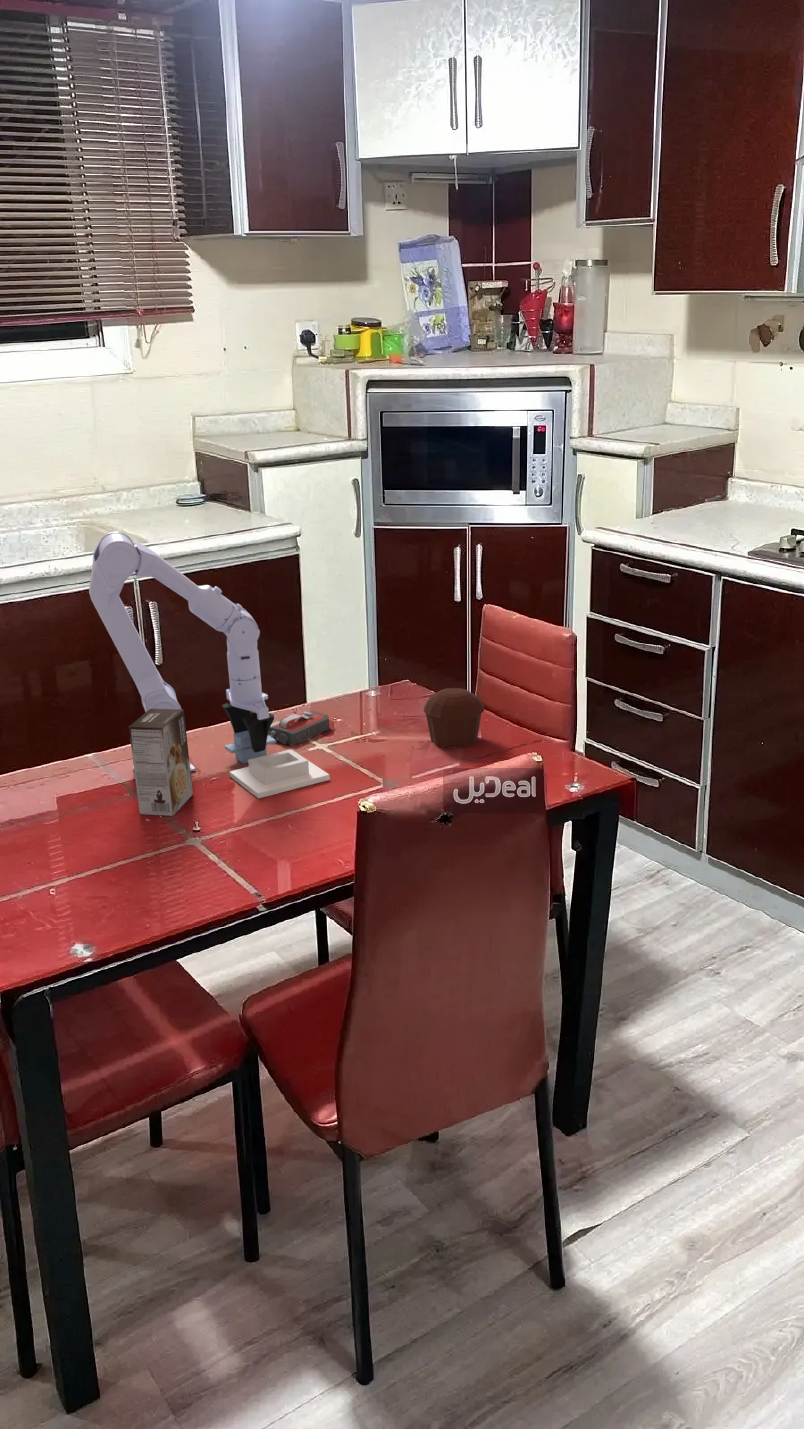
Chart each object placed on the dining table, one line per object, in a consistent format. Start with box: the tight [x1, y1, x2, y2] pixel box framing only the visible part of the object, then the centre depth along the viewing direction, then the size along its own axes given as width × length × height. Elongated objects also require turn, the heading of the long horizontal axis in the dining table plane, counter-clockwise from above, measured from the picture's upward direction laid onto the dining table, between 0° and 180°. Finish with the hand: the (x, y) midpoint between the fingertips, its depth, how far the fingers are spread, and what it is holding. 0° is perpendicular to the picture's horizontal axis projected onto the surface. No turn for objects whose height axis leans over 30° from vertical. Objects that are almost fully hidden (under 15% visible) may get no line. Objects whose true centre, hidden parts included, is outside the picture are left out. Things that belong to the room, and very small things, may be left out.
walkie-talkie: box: [268, 710, 330, 746], centre depth 227 cm, size 9×4×20 cm
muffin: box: [423, 687, 485, 749], centre depth 222 cm, size 12×11×10 cm
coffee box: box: [128, 708, 194, 817], centre depth 197 cm, size 9×6×16 cm
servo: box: [224, 731, 277, 764], centre depth 217 cm, size 9×3×6 cm, turn 122°
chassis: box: [229, 749, 331, 799], centre depth 208 cm, size 14×12×4 cm
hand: (250, 744), depth 217 cm, fingers open, 7 cm apart
